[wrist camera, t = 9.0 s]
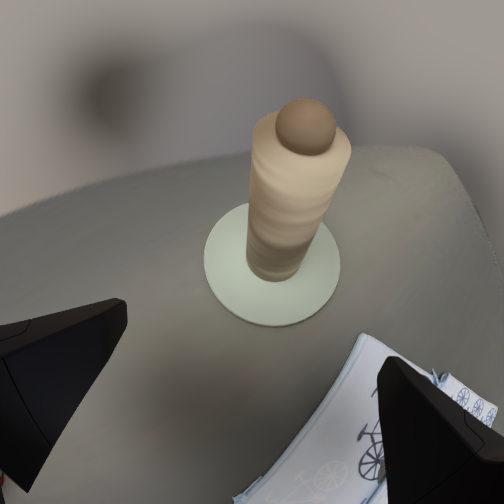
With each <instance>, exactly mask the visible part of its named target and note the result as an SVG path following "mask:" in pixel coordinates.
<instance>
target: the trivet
mask: <svg viewBox="0 0 504 504" xmlns="http://www.w3.org/2000/svg"><path fill="white" fill-rule="evenodd" d="M248 209H249V203H246V204H243V205H241V206H238V207H236V208H235V209H233V210H231V211H230V212H228V213H227V214H226V215H224V216H223V217H222V218H221V219H220V220H219V221H218V222H217V224H216V225H215V226H214V228H213V229H212V231H211V232H210V235H209V237H208V239H207V242H206V246H205V251H204V267H205V273H206V277H207V280H208V283H209V286H210V288H211V290H212V292H213V294H214V295H215V297H216V298H217V300H218V301H219V302H220V303H221V305H222V306H223V307H224V308H225V309H227V310H228V311H229V312H230V313H231V314H233V315H234V316H236V317H238V318H239V319H241V320H243V321H246V322H248V323H251V324H254V325H258V326H264V327H284V326H289V325H293V324H296V323H299V322H301V321H303V320H305V319H307V318H309V317H311V316H312V315H313V314H315V313H316V312H317V311H318V310H319V309H320V308H321V307H322V306H323V305H324V304H325V303H326V302H327V301H328V299H329V298H330V297H331V295H332V294H333V292H334V290H335V288H336V285H337V282H338V279H339V274H340V256H339V251H338V247H337V245H336V242H335V240H334V238H333V236H332V234H331V233H330V231H329V230H328V228H327V227H326V226H325V225H324V223H323V222H322V221H321V223H320V225H319V227H318V230H317V232H316V234H315V236H314V238H313V240H312V242H311V244H310V246H309V249H308V251H307V253H306V255H305V257H304V259H303V261H302V263H301V265H300V267H299V269H298V271H297V272H296V273H295V274H294V275H293V276H292V277H291V278H289V279H287V280H285V281H282V282H268V281H264V280H262V279H260V278H258V277H257V276H256V275H254V274H253V273H252V271H251V270H250V269H249V267H248V265H247V262H246V242H247V225H248Z"/></svg>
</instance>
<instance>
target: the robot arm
mask: <svg viewBox="0 0 504 504" xmlns="http://www.w3.org/2000/svg"><path fill="white" fill-rule="evenodd" d="M127 322H128V320H127V304H126V302H125V301H124V300H121V299H118V298H112V299H108V300H104V301H101V302H97V303H93V304H89V305H85V306H81V307H77V308H73V309H69V310H65V311H61V312H57V313H53V314H49V315H45V316H41V317H37V318H33V319H32V320H31V319H28V320H24V321H20V322H16V323H11V324H6V325H0V478H1V477H2V475H3V474H5V475H6V476H7V477H8V478H9V479H11V480H12V481H13V482H14V483H15V484H16V485H18V486H19V487H20V488H21V489H22V490H24V491H25V492H26V493H28V492H29V490H30V489H31V487H32V485H33V483H34V481H35V479H36V477H37V475H38V474H39V472H40V470H41V468H42V466H43V465H44V463H45V461H46V459H47V457H48V456H49V454H50V452H51V450H52V448H53V447H54V445H55V443H56V442H57V440H58V438H59V437H60V435H61V433H62V432H63V430H64V428H65V427H66V425H67V423H68V422H69V420H70V419H71V417H72V415H73V414H74V412H75V411H76V409H77V407H78V406H79V404H80V403H81V401H82V400H83V398H84V396H85V395H86V393H87V392H88V390H89V389H90V387H91V386H92V384H93V383H94V381H95V380H96V378H97V377H98V375H99V374H100V372H101V371H102V369H103V368H104V366H105V365H106V363H107V362H108V360H109V358H110V357H111V355H112V353H113V351H114V349H115V347H116V345H117V344H118V342H119V340H120V338H121V336H122V334H123V332H124V331H125V329H126V326H127ZM377 393H378V412H379V422H380V428H381V436H382V443H383V451H384V460H385V470H386V482H387V497H388V504H504V437H503V436H501V435H500V434H499V433H497V432H496V431H494V430H493V429H491V428H490V427H488V426H487V425H485V424H484V423H483V422H481V421H480V420H479V419H477V418H476V417H475V416H473V415H472V414H471V413H470V412H468V411H467V410H466V409H464V408H463V407H462V406H461V405H459V404H458V403H457V402H456V401H454V400H453V399H452V398H451V397H449V396H448V395H447V394H446V393H444V392H443V391H442V390H441V389H439V388H438V387H437V386H436V385H434V384H433V383H432V382H430V381H429V380H428V379H427V378H425V377H424V376H423V375H422V374H420V373H419V372H418V371H417V370H415V369H414V368H413V367H411V366H410V365H409V364H408V363H406V362H405V361H404V360H403V359H401V358H400V357H398V356H388V357H387V358H386V359H385V361H384V363H383V365H382V367H381V369H380V371H379V372H378V375H377ZM0 504H5V501H4V497H3V493H2V488H1V484H0Z"/></svg>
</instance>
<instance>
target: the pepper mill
mask: <svg viewBox="0 0 504 504" xmlns="http://www.w3.org/2000/svg"><path fill="white" fill-rule="evenodd" d="M350 155H351V146H350V142H349V140H348V138H347V136H346V135H345V134H344V132H343V131H342V130H341V129H340V128H339V127H338V126H337V125H336V123H335V119H334V117H333V115H332V113H331V112H330V110H329V109H328V108H327V107H326V106H325V105H324V104H322V103H320V102H318V101H316V100H313V99H308V98H300V99H296V100H293V101H291V102H289V103H287V104H286V105H285V106H284V107H283V108H282V109H281V110H280V111H277V112H273V113H270V114H268V115H266V116H264V117H263V118H262V119H260V120H259V121H258V123H257V124H256V126H255V128H254V132H253V145H252V160H251V176H250V192H249V209H248V225H247V242H246V262H247V265H248V267H249V269H250V270H251V271H252V273H253V274H254V275H256V276H257V277H258V278H260V279H262V280H264V281H268V282H282V281H285V280H287V279H289V278H291V277H292V276H293V275H294V274H295V273H296V272H297V271H298V269H299V267H300V265H301V263H302V261H303V259H304V257H305V255H306V253H307V251H308V249H309V246H310V244H311V242H312V240H313V238H314V236H315V234H316V232H317V230H318V227H319V225H320V223H321V221H322V219H323V217H324V215H325V212H326V210H327V208H328V206H329V204H330V201H331V199H332V197H333V195H334V192H335V190H336V188H337V186H338V183H339V181H340V179H341V177H342V174H343V172H344V170H345V167H346V165H347V163H348V160H349V158H350Z"/></svg>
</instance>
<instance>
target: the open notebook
mask: <svg viewBox="0 0 504 504" xmlns="http://www.w3.org/2000/svg"><path fill="white" fill-rule="evenodd" d="M388 356H398V357H400V358H401V359H403V360H404V361H405V362H406V363H408V364H409V365H410V366H411V367H413V368H414V369H415V370H417V371H418V372H419V373H420V374H422V375H423V376H424V377H425V378H427V379H428V380H429V381H430V382H432V383H433V384H434V385H436V386H437V387H438V388H439V389H441V390H442V391H443V392H444V393H446V394H447V395H448V396H449V397H451V398H452V399H453V400H454V401H456V402H457V403H458V404H459V405H461V406H462V407H463V408H464V409H466V410H467V411H468V412H470V413H471V414H472V415H473V416H475V417H476V418H477V419H479V420H480V421H481V422H483V423H484V424H485V425H487V426H488V427H490V428H491V425H492V422H493V420H494V418H495V415H496V413H497V407H496V406H495V405H493V404H491V403H490V402H488V401H486V400H484V399H482V398H481V397H479V396H478V395H477V394H475V393H474V392H473V391H471V390H470V389H469V388H467V387H466V386H465V385H463V384H462V383H461V382H460V381H458V380H456V379H455V378H454V377H453V376H451V375H450V373H448V374H443V375H442V377H441V380H438V378H437V375H436V373H435V372H434V369H432V371H433V375H430V374H429V373H427V372H426V371H424V370H422V369H421V368H419V367H418V366H416V365H414V364H413V363H411V362H410V361H408V360H407V359H405V358H404V357H402V356H401V355H399V354H398V353H396V352H395V351H393V350H392V349H390V348H388V347H387V346H386V345H384V344H383V343H382V342H380V341H378V340H377V339H375V338H374V337H372V336H370V335H366V334H365V333H361V334H360V335H359V337H358V338H357V340H356V343H355V345H354V347H353V349H352V351H351V353H350V355H349V357H348V359H347V361H346V363H345V365H344V367H343V368H342V370H341V372H340V374H339V375H338V377H337V379H336V380H335V382H334V384H333V385H332V387H331V388H330V390H329V391H328V393H327V395H326V396H325V398H324V399H323V401H322V402H321V404H320V405H319V406H318V408H317V409H316V411H315V412H314V413H313V415H312V416H311V418H310V419H309V420H308V422H307V423H306V424H305V425H304V427H303V428H302V429H301V431H300V432H299V433H298V434H297V436H296V437H295V438H294V440H293V441H292V442H291V444H290V445H289V446H288V448H287V449H286V450H285V451H284V453H283V454H282V455H281V456H280V457H279V459H278V460H277V461H276V462H275V463H274V465H273V466H272V467H271V468H270V469H269V471H268V472H267V473H266V474H265V475H264V476H263V477H262V476H260V477H259V478H258V479H257V480H256V481H255V482H253V483H252V485H251V486H250V487H248V489H246V490H245V491H244V492H243V493H241V494H239V495H237V496H236V497H233V496H232V498H233V500H234V504H388V497H387V482H386V476H385V477H384V478H383V480H382V481H381V482H380V483H379V484H378V483H377V479H376V478H377V477H378V470H379V468H380V463H381V462H382V460H383V459H384V451H383V443H382V436H381V428H380V422H379V412H378V393H377V375H378V372H379V371H380V369H381V367H382V365H383V363H384V361H385V359H386V358H387V357H388ZM259 479H260V480H259ZM258 480H259V482H257V481H258Z"/></svg>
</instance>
